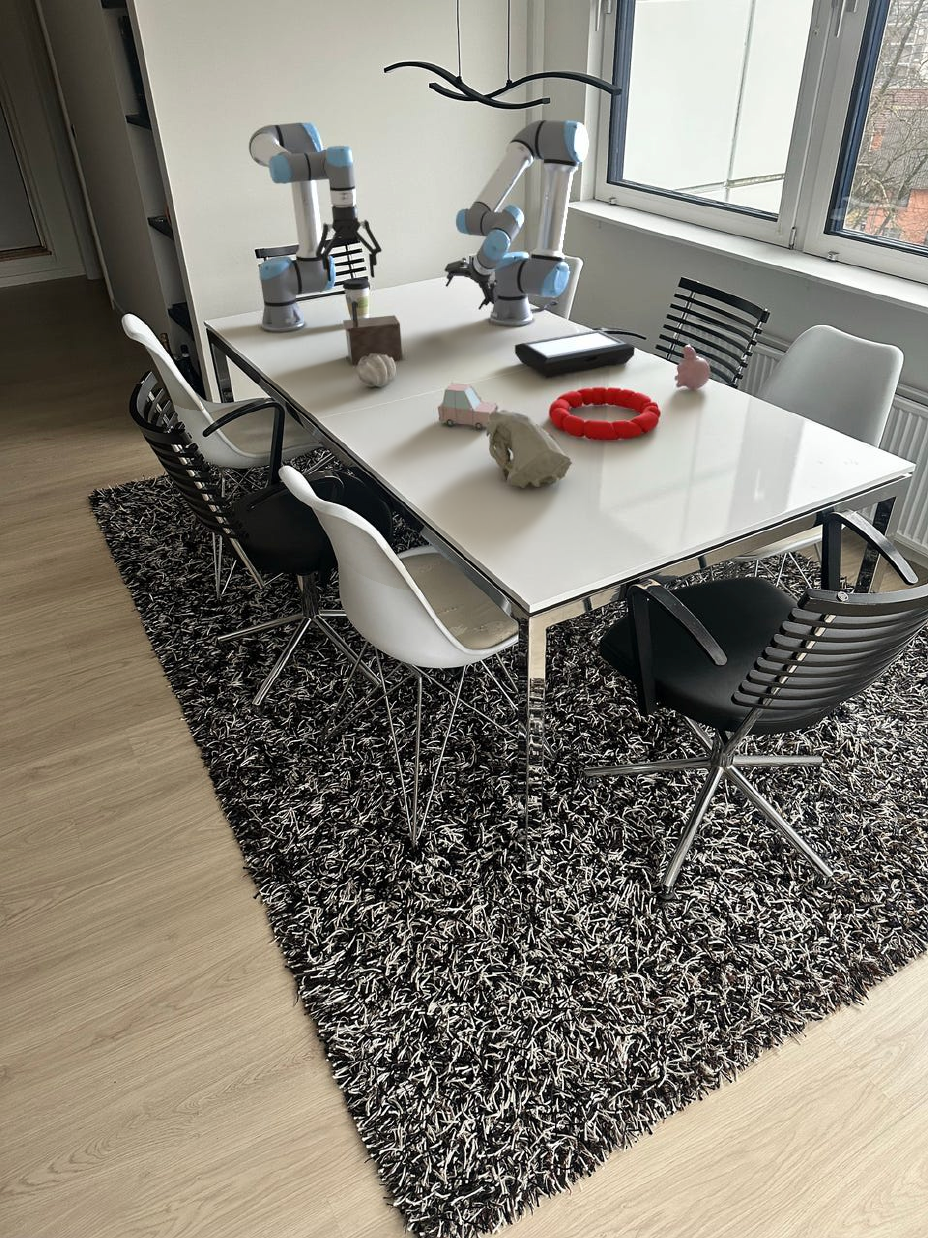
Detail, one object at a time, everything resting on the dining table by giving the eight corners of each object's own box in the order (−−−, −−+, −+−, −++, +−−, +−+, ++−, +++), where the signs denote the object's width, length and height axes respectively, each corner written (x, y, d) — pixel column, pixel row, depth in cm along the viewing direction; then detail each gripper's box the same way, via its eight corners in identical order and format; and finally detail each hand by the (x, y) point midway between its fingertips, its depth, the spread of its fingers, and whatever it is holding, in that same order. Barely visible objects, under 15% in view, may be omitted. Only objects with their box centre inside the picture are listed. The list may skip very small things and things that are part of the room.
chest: (352, 365, 289) (348, 331, 283) (348, 356, 297) (345, 323, 291) (402, 359, 292) (400, 326, 286) (397, 350, 300) (394, 318, 294)
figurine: (665, 387, 264) (669, 347, 257) (693, 380, 268) (698, 340, 261) (686, 396, 257) (690, 355, 250) (714, 388, 262) (720, 348, 255)
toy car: (488, 432, 240) (488, 396, 234) (436, 426, 244) (434, 390, 239) (499, 419, 247) (499, 384, 241) (448, 413, 252) (447, 379, 246)
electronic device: (544, 360, 268) (515, 342, 283) (544, 380, 271) (514, 361, 286) (634, 344, 278) (601, 327, 293) (633, 363, 282) (600, 346, 297)
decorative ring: (589, 435, 224) (684, 402, 234) (527, 398, 247) (617, 369, 256) (589, 461, 229) (683, 427, 238) (529, 422, 251) (617, 393, 260)
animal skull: (496, 517, 219) (521, 479, 201) (463, 429, 225) (484, 384, 207) (557, 503, 225) (586, 465, 206) (523, 417, 231) (549, 373, 212)
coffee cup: (372, 326, 323) (368, 283, 314) (345, 327, 323) (340, 284, 315) (374, 318, 331) (371, 276, 322) (348, 319, 331) (344, 277, 323)
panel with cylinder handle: (347, 331, 283) (344, 303, 278) (343, 323, 290) (340, 295, 285) (400, 326, 286) (398, 297, 281) (394, 318, 294) (392, 290, 288)
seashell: (349, 385, 273) (346, 353, 267) (393, 376, 278) (391, 344, 273) (363, 395, 265) (359, 362, 260) (408, 385, 271) (405, 353, 265)
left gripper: (303, 209, 261) (312, 284, 274) (387, 203, 266) (392, 277, 278) (301, 205, 268) (310, 278, 280) (382, 199, 272) (388, 271, 284)
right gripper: (445, 250, 285) (429, 281, 305) (510, 296, 290) (489, 323, 310) (456, 233, 287) (439, 265, 307) (520, 278, 292) (499, 307, 312)
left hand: (351, 278), depth 279 cm, fingers open, 13 cm apart
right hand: (464, 294), depth 309 cm, fingers open, 13 cm apart
